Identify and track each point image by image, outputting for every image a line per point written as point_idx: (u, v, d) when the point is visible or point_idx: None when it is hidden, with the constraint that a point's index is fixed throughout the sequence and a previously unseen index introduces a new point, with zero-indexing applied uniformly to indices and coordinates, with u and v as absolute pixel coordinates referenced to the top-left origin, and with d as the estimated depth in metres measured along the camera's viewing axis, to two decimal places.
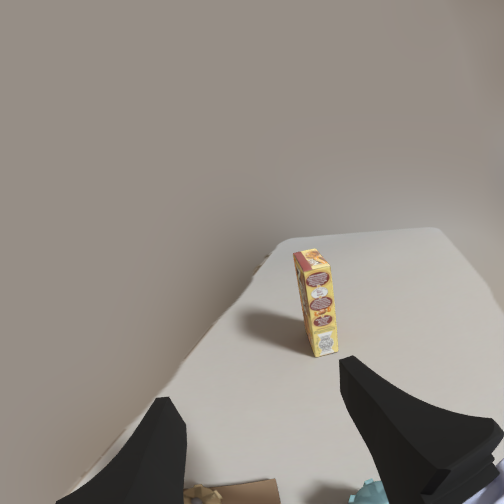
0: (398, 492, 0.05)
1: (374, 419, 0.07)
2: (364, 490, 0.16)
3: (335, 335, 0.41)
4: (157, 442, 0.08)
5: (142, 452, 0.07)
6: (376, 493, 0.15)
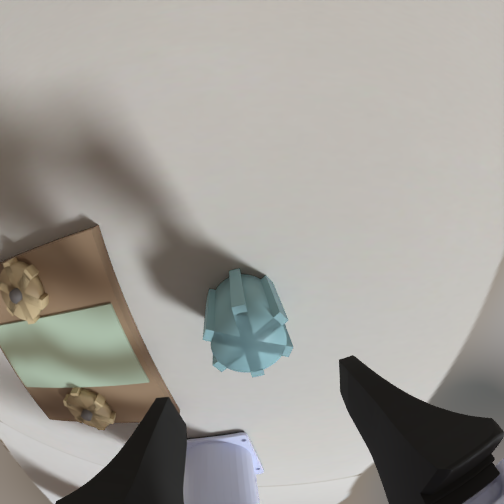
0: (398, 492, 0.05)
1: (374, 419, 0.07)
2: (229, 325, 0.14)
3: None
4: (157, 442, 0.08)
5: (142, 452, 0.07)
6: (248, 334, 0.14)
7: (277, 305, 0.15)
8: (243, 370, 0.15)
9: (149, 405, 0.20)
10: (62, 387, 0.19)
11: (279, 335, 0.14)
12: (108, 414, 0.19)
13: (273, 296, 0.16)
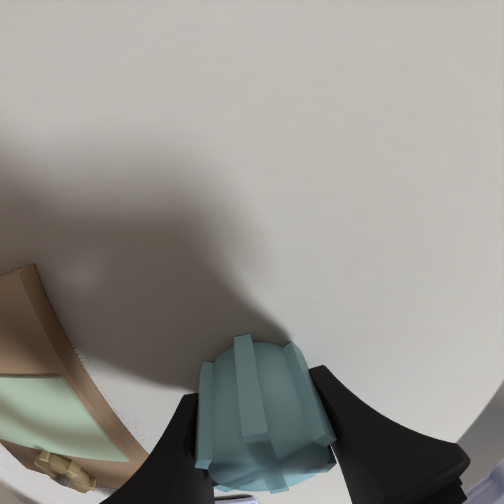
0: None
1: (338, 432, 0.07)
2: (238, 455, 0.07)
3: None
4: (190, 440, 0.08)
5: (177, 451, 0.07)
6: (270, 461, 0.07)
7: (319, 415, 0.08)
8: (258, 489, 0.08)
9: None
10: (31, 447, 0.12)
11: (319, 456, 0.07)
12: (86, 482, 0.12)
13: (309, 393, 0.09)
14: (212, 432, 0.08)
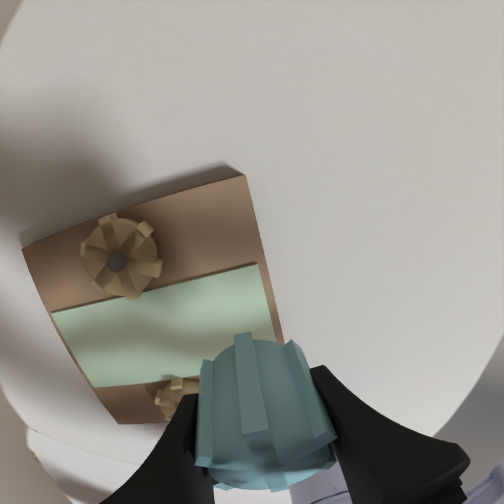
0: None
1: (338, 432, 0.07)
2: (238, 452, 0.07)
3: None
4: (190, 440, 0.08)
5: (177, 451, 0.07)
6: (270, 459, 0.07)
7: (319, 412, 0.08)
8: (259, 488, 0.08)
9: None
10: (154, 381, 0.18)
11: (319, 454, 0.07)
12: None
13: (310, 390, 0.09)
14: (212, 430, 0.08)
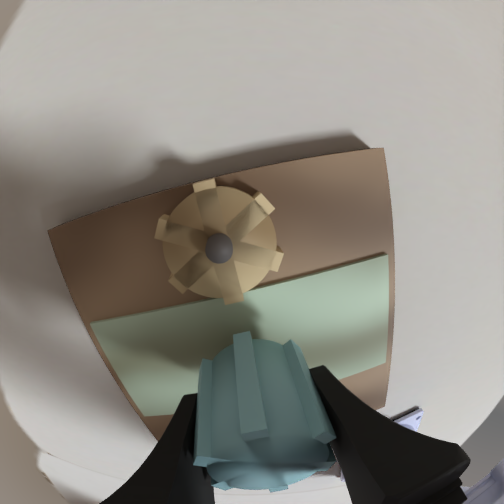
0: None
1: (338, 432, 0.07)
2: (237, 452, 0.07)
3: None
4: (190, 440, 0.08)
5: (177, 451, 0.07)
6: (268, 459, 0.07)
7: (318, 412, 0.08)
8: (258, 488, 0.08)
9: (363, 396, 0.16)
10: None
11: (318, 454, 0.07)
12: None
13: (309, 390, 0.09)
14: (211, 429, 0.08)
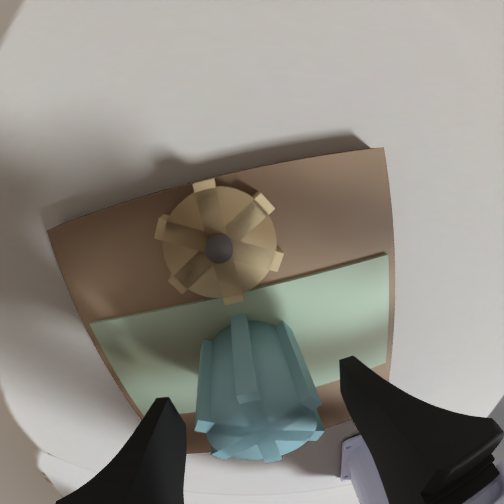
0: (398, 492, 0.05)
1: (374, 419, 0.07)
2: (233, 416, 0.08)
3: None
4: (157, 442, 0.08)
5: (142, 452, 0.07)
6: (262, 424, 0.08)
7: (305, 381, 0.09)
8: (253, 458, 0.09)
9: None
10: None
11: (307, 421, 0.09)
12: None
13: (297, 362, 0.10)
14: (211, 398, 0.09)
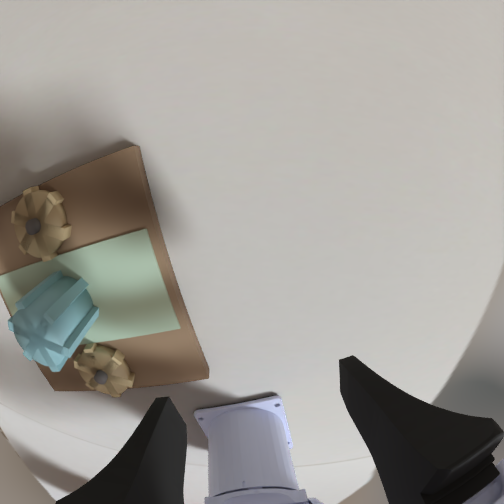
0: (398, 492, 0.05)
1: (374, 419, 0.07)
2: (18, 319, 0.12)
3: None
4: (157, 442, 0.08)
5: (142, 452, 0.07)
6: (32, 330, 0.12)
7: (52, 306, 0.12)
8: (43, 363, 0.13)
9: (176, 361, 0.19)
10: None
11: (53, 335, 0.12)
12: (127, 375, 0.18)
13: (60, 297, 0.13)
14: None
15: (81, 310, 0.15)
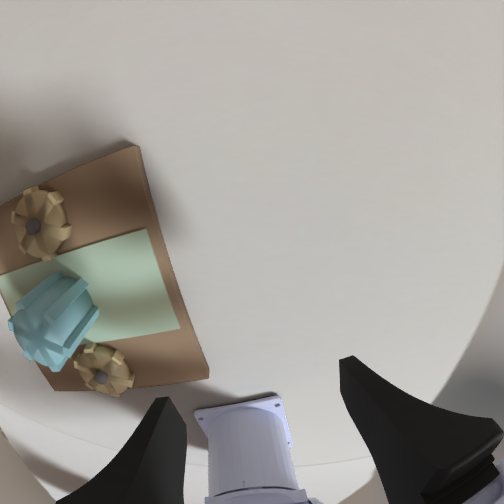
0: (398, 492, 0.05)
1: (374, 419, 0.07)
2: (18, 319, 0.12)
3: None
4: (157, 442, 0.08)
5: (142, 452, 0.07)
6: (32, 330, 0.12)
7: (52, 306, 0.12)
8: (43, 363, 0.13)
9: (176, 361, 0.19)
10: None
11: (53, 335, 0.12)
12: (127, 375, 0.18)
13: (60, 297, 0.13)
14: None
15: (81, 310, 0.15)
